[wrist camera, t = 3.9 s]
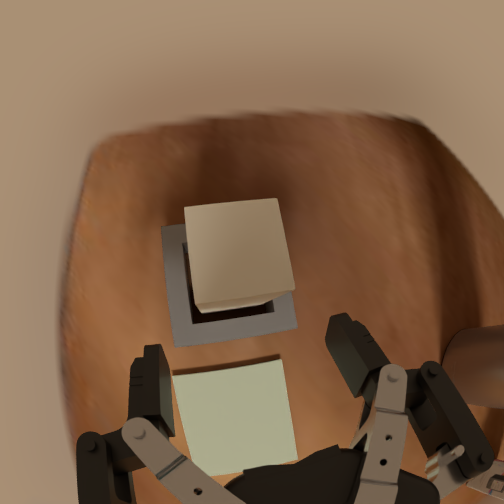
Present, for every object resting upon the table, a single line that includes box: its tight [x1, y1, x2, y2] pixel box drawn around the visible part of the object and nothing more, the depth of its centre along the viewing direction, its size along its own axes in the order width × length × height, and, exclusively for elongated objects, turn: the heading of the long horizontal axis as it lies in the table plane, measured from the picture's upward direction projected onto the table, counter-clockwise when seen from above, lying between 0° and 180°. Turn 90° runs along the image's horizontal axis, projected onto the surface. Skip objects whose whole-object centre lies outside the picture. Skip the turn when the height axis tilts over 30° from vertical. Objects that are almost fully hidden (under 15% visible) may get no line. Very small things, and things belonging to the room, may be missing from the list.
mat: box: [172, 359, 298, 476], centre depth 20 cm, size 9×10×1 cm
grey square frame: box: [161, 223, 298, 347], centre depth 22 cm, size 9×9×3 cm
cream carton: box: [184, 198, 295, 314], centre depth 18 cm, size 4×4×11 cm
